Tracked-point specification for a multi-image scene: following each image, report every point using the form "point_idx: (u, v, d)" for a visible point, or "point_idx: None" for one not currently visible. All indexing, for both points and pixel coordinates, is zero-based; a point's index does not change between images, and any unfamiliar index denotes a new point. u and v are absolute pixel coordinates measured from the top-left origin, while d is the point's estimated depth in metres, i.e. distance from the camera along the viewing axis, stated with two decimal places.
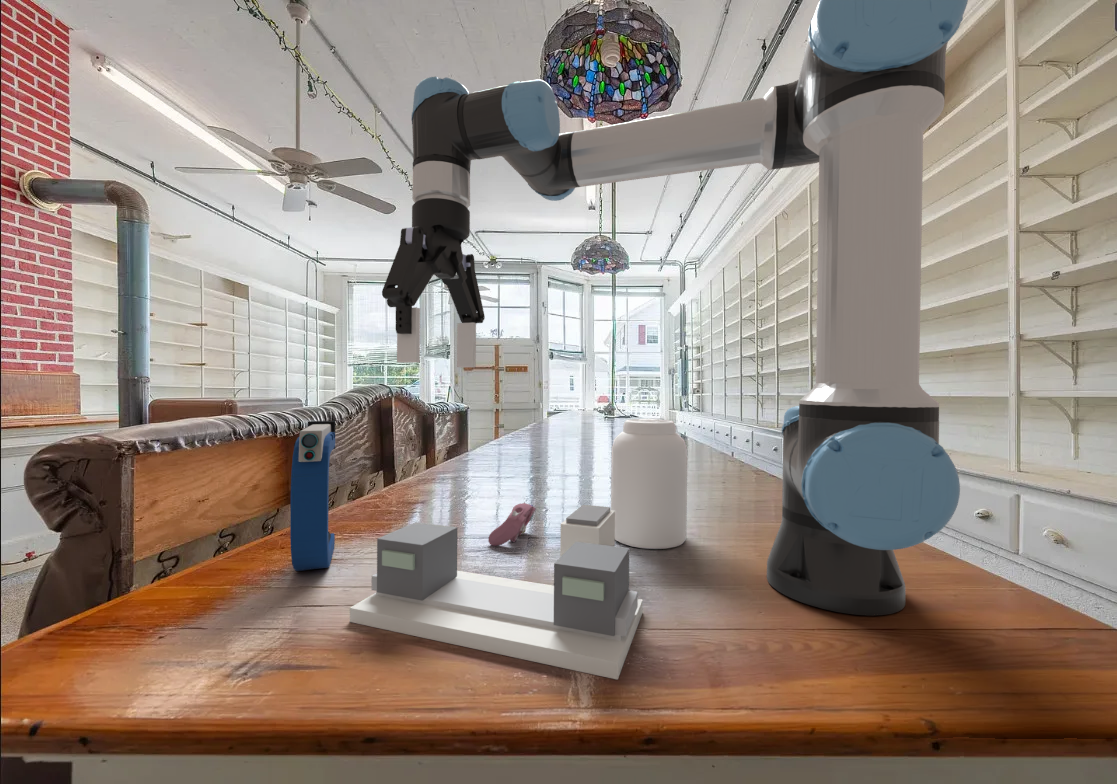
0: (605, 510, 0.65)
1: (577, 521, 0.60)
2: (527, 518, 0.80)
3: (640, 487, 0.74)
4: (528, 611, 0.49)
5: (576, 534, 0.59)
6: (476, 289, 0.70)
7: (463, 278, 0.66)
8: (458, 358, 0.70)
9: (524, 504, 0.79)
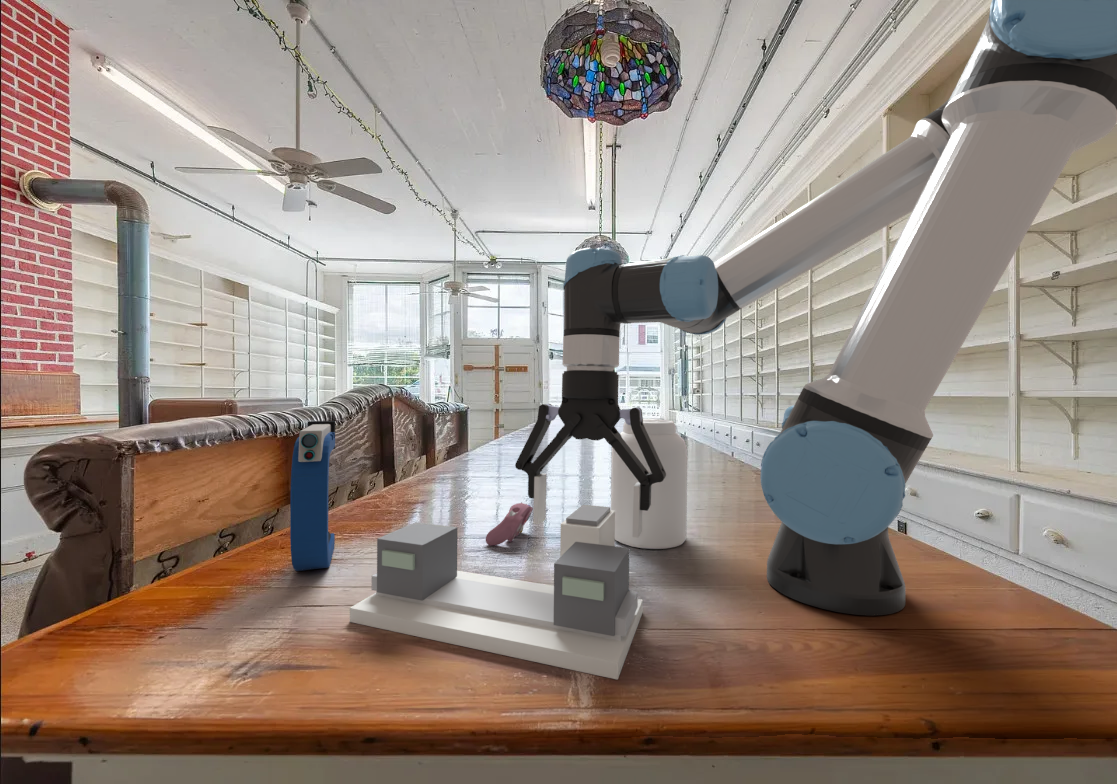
0: (605, 510, 0.65)
1: (577, 521, 0.60)
2: (524, 518, 0.80)
3: None
4: (528, 611, 0.49)
5: (576, 534, 0.59)
6: (643, 446, 0.60)
7: (607, 440, 0.61)
8: None
9: (521, 504, 0.79)
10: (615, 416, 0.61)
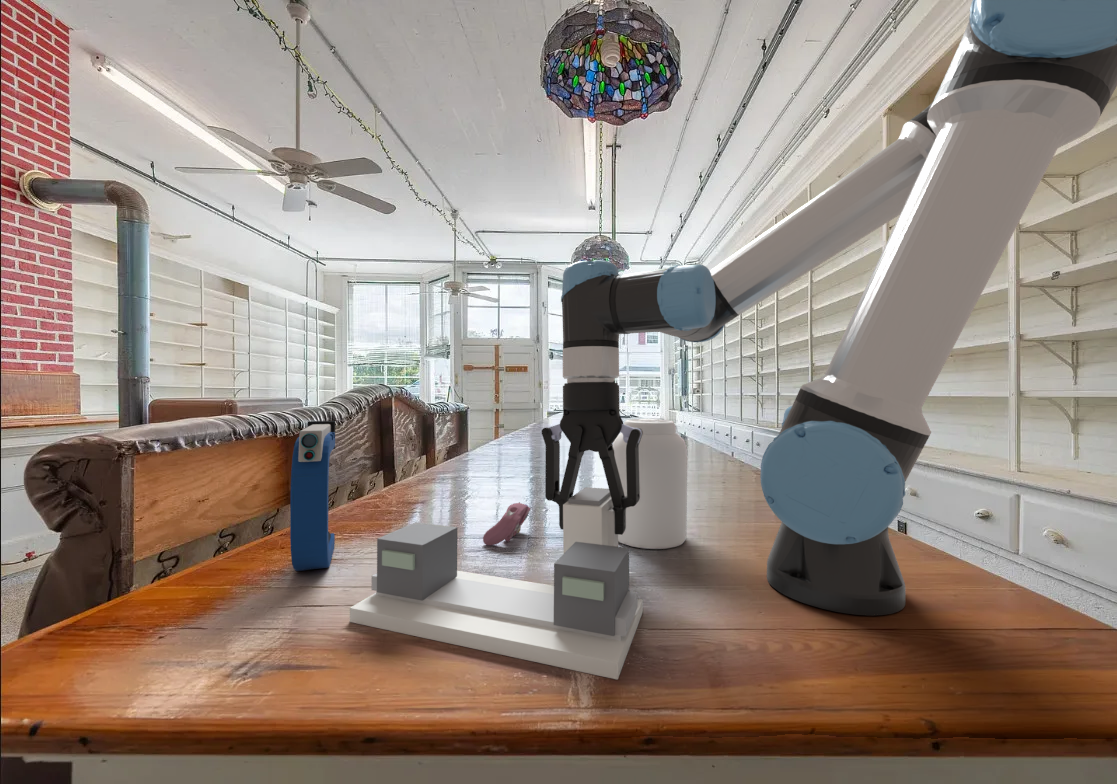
0: (607, 491, 0.64)
1: (579, 501, 0.60)
2: (522, 518, 0.80)
3: (640, 487, 0.74)
4: (528, 611, 0.49)
5: (579, 514, 0.59)
6: (630, 468, 0.60)
7: (600, 454, 0.61)
8: None
9: (519, 504, 0.80)
10: (617, 427, 0.61)
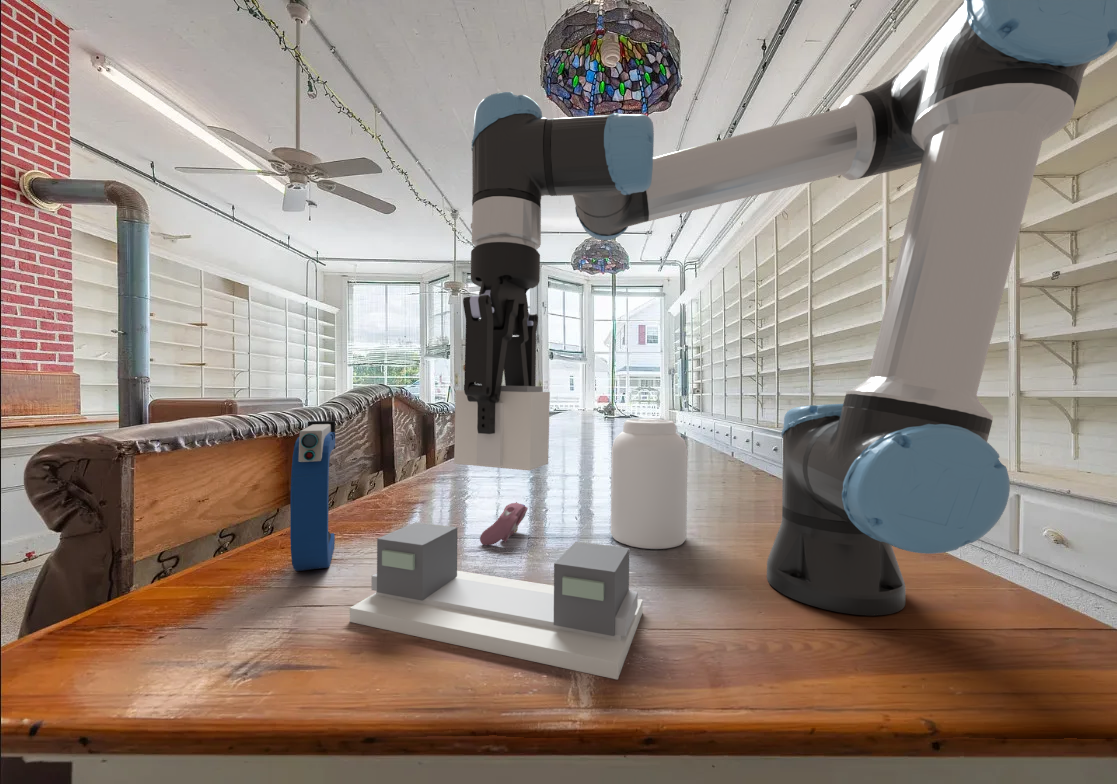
0: None
1: (532, 388, 0.51)
2: (519, 518, 0.80)
3: (640, 487, 0.74)
4: (528, 611, 0.49)
5: (539, 402, 0.50)
6: (533, 355, 0.57)
7: (524, 337, 0.53)
8: None
9: (516, 504, 0.80)
10: None
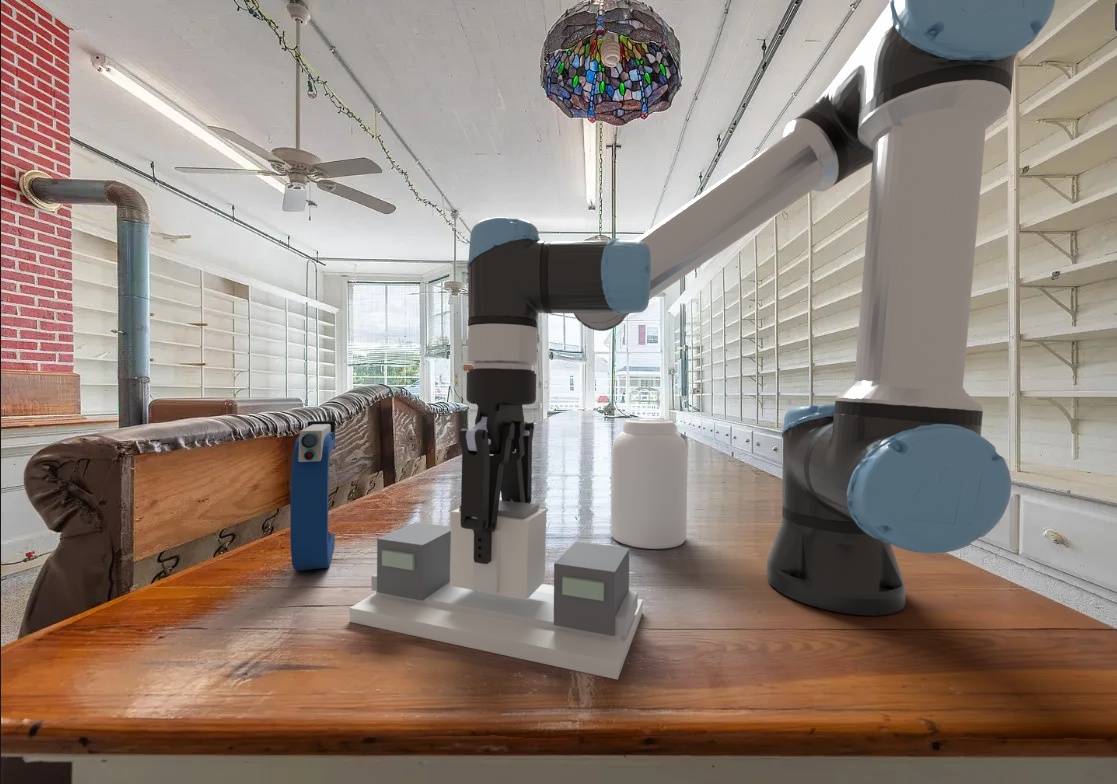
0: None
1: (529, 512, 0.50)
2: None
3: (640, 487, 0.74)
4: (528, 611, 0.49)
5: (535, 526, 0.50)
6: (529, 464, 0.57)
7: (520, 454, 0.53)
8: None
9: None
10: (523, 421, 0.55)
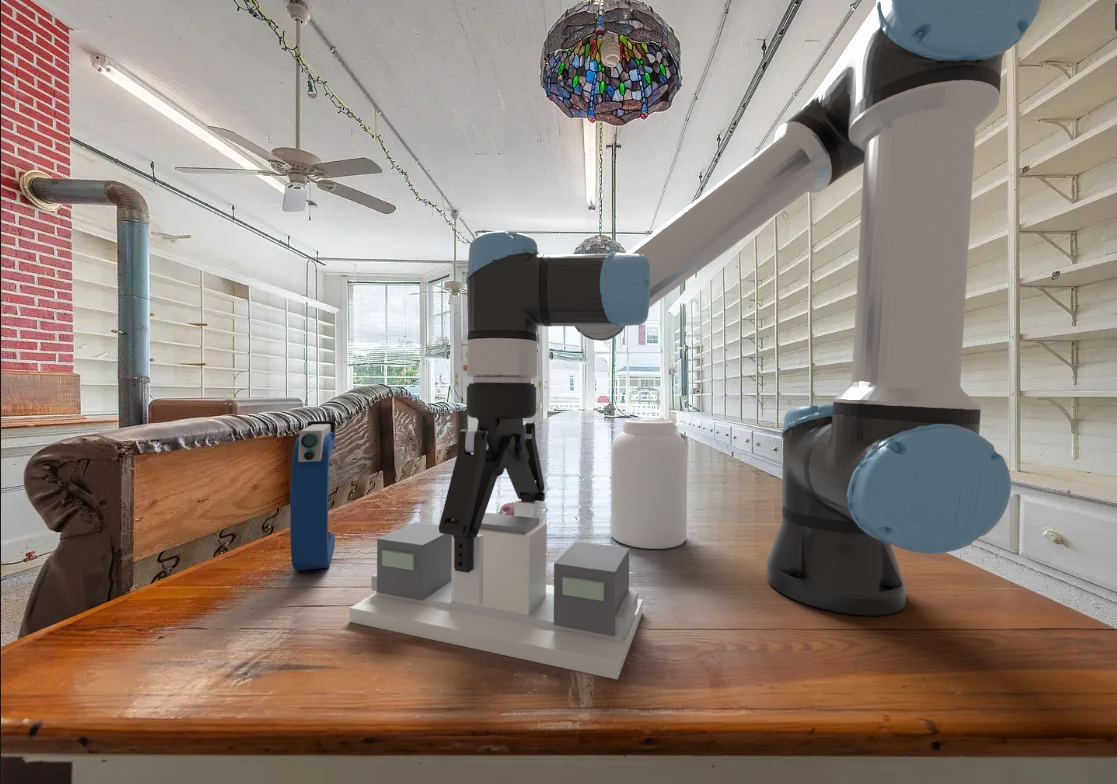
0: (492, 513, 0.54)
1: (530, 526, 0.50)
2: None
3: (640, 487, 0.74)
4: None
5: (536, 540, 0.50)
6: (537, 460, 0.59)
7: (526, 461, 0.54)
8: None
9: (512, 503, 0.80)
10: (524, 433, 0.55)
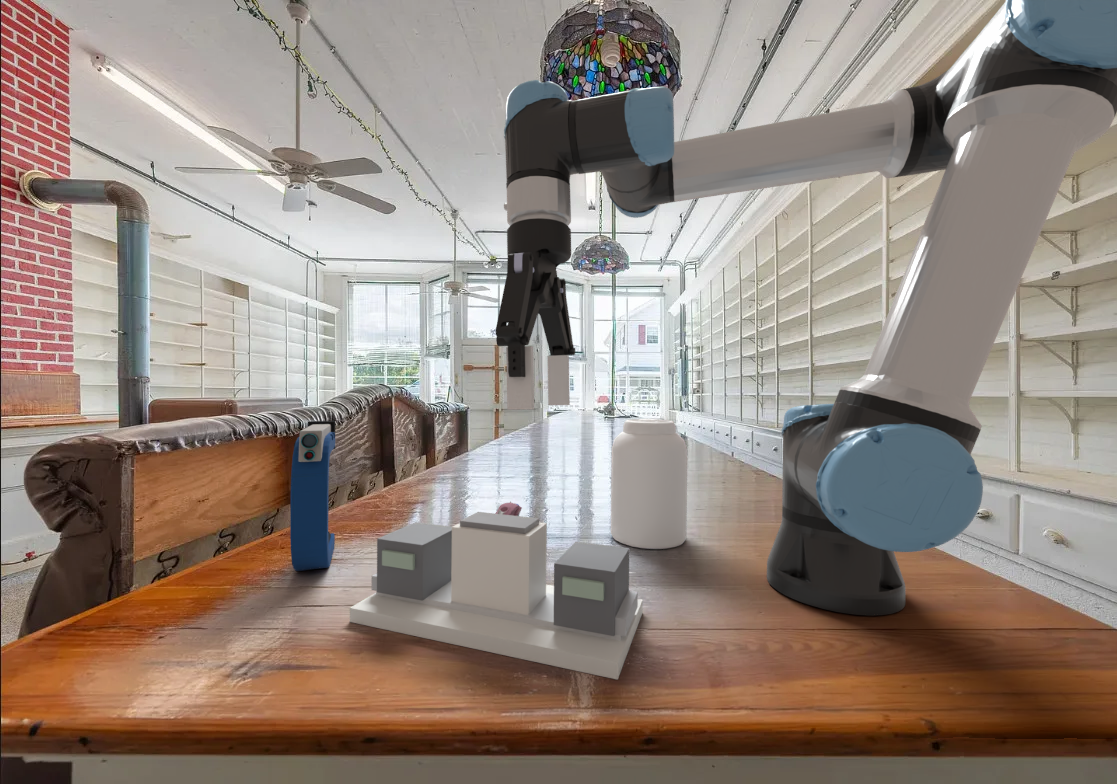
0: (492, 513, 0.54)
1: (530, 526, 0.50)
2: None
3: (640, 487, 0.74)
4: None
5: (536, 540, 0.50)
6: (567, 317, 0.63)
7: (561, 307, 0.58)
8: (549, 395, 0.62)
9: (510, 503, 0.80)
10: None
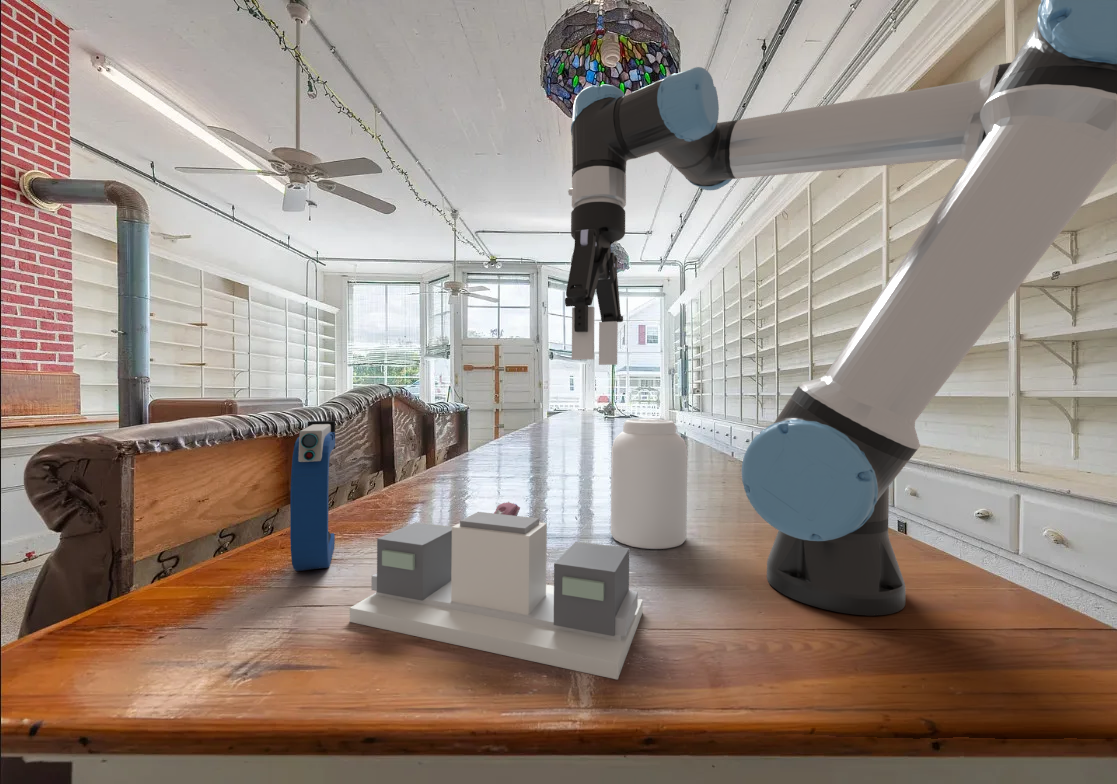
0: (492, 513, 0.54)
1: (530, 526, 0.50)
2: None
3: (640, 487, 0.74)
4: None
5: (536, 540, 0.50)
6: (617, 289, 0.73)
7: (614, 278, 0.68)
8: (600, 356, 0.73)
9: (508, 503, 0.80)
10: None
